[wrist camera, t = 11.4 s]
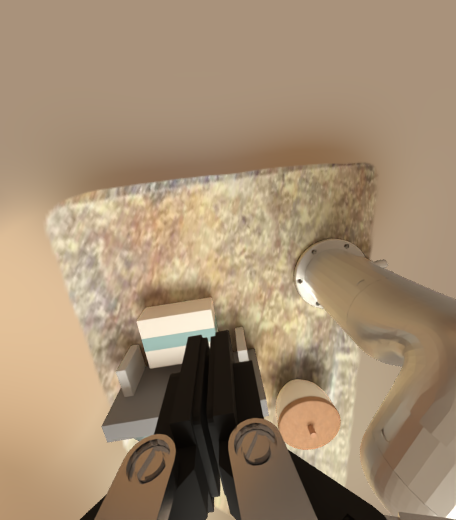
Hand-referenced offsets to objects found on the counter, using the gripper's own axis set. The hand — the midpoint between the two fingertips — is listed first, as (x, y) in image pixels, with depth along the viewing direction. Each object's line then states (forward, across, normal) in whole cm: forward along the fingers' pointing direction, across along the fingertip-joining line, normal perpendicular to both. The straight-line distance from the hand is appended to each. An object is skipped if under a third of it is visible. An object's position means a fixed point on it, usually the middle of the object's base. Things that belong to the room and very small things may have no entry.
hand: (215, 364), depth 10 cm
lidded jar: (+32, -10, +34) cm, 48 cm away
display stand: (+32, +9, +21) cm, 40 cm away
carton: (+32, +9, +15) cm, 37 cm away
